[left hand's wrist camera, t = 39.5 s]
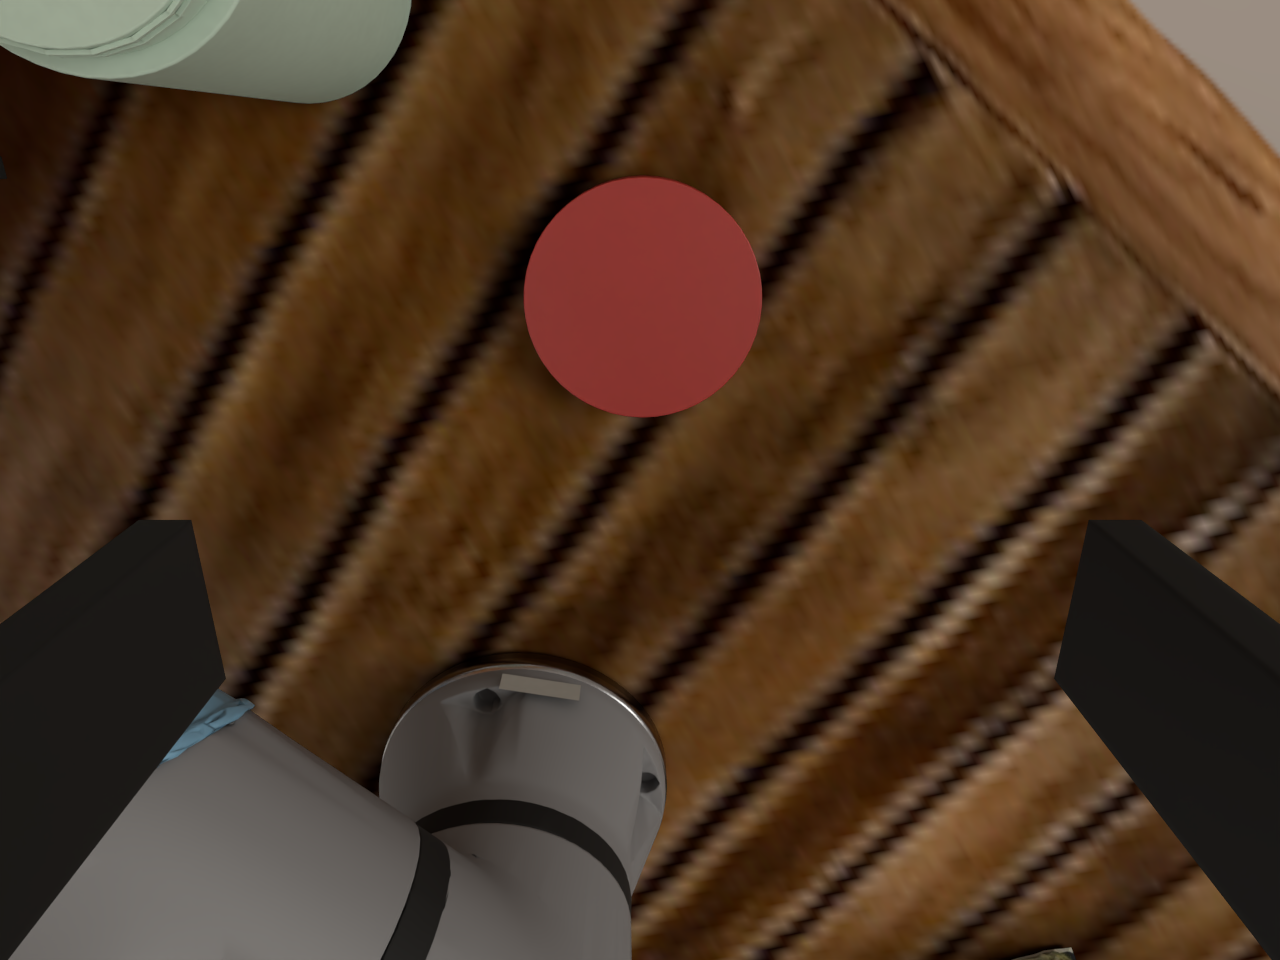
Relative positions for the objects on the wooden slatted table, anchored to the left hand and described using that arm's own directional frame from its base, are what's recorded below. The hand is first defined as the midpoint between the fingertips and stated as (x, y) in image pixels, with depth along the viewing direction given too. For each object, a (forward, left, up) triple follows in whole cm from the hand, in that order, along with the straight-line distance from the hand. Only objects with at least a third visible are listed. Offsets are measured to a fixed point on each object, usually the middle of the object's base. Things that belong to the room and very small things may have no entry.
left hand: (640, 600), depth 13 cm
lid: (0, 0, -25) cm, 25 cm away
